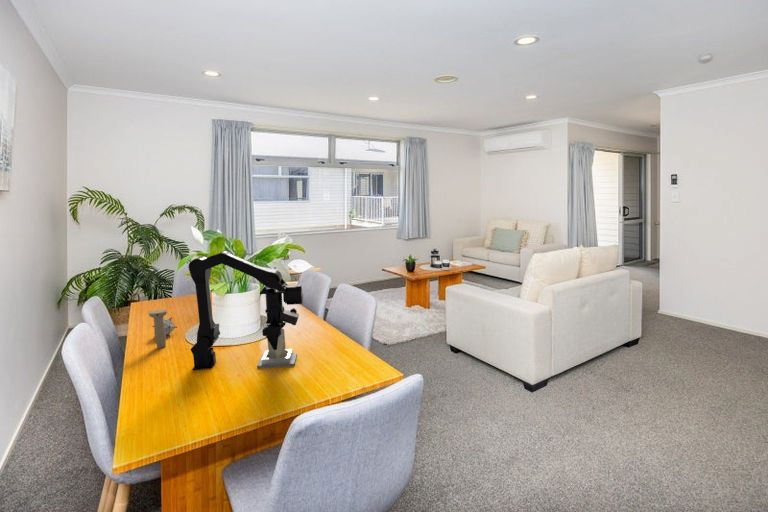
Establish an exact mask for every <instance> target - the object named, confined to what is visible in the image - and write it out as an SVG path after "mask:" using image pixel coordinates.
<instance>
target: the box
mask: <svg viewBox="0 0 768 512" xmlns="http://www.w3.org/2000/svg"><path fill="white" fill-rule="evenodd" d="M282 331H283V332H282V334H281V335H280V336H279V337H278V345H277V350H273V348H272V346H271V344H270V342H269V341H268V340H267V350H268V352H269V358H274V357H286V349H287V347H286V337H285V329H284V328H282Z"/></svg>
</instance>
